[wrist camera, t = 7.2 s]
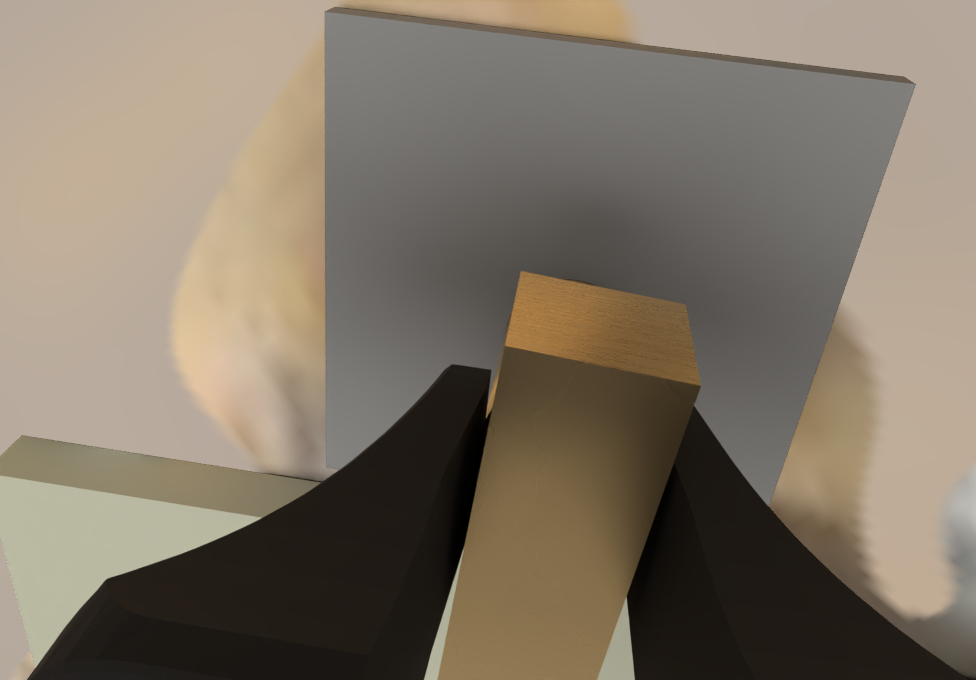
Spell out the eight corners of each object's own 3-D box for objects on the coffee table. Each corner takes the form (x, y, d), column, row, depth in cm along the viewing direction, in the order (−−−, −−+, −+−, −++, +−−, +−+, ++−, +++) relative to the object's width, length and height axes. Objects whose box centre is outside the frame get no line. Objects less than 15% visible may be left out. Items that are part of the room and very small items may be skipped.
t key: (593, 469, 17) (588, 724, 12) (481, 445, 17) (428, 688, 12) (671, 201, 14) (710, 387, 9) (535, 174, 14) (496, 343, 9)
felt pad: (904, 76, 14) (916, 84, 14) (754, 517, 19) (758, 535, 19) (334, 6, 15) (325, 12, 14) (333, 452, 20) (325, 467, 19)
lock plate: (659, 535, 20) (663, 585, 18) (583, 822, 26) (581, 876, 24) (21, 435, 21) (-20, 475, 19) (91, 734, 27) (62, 781, 25)
